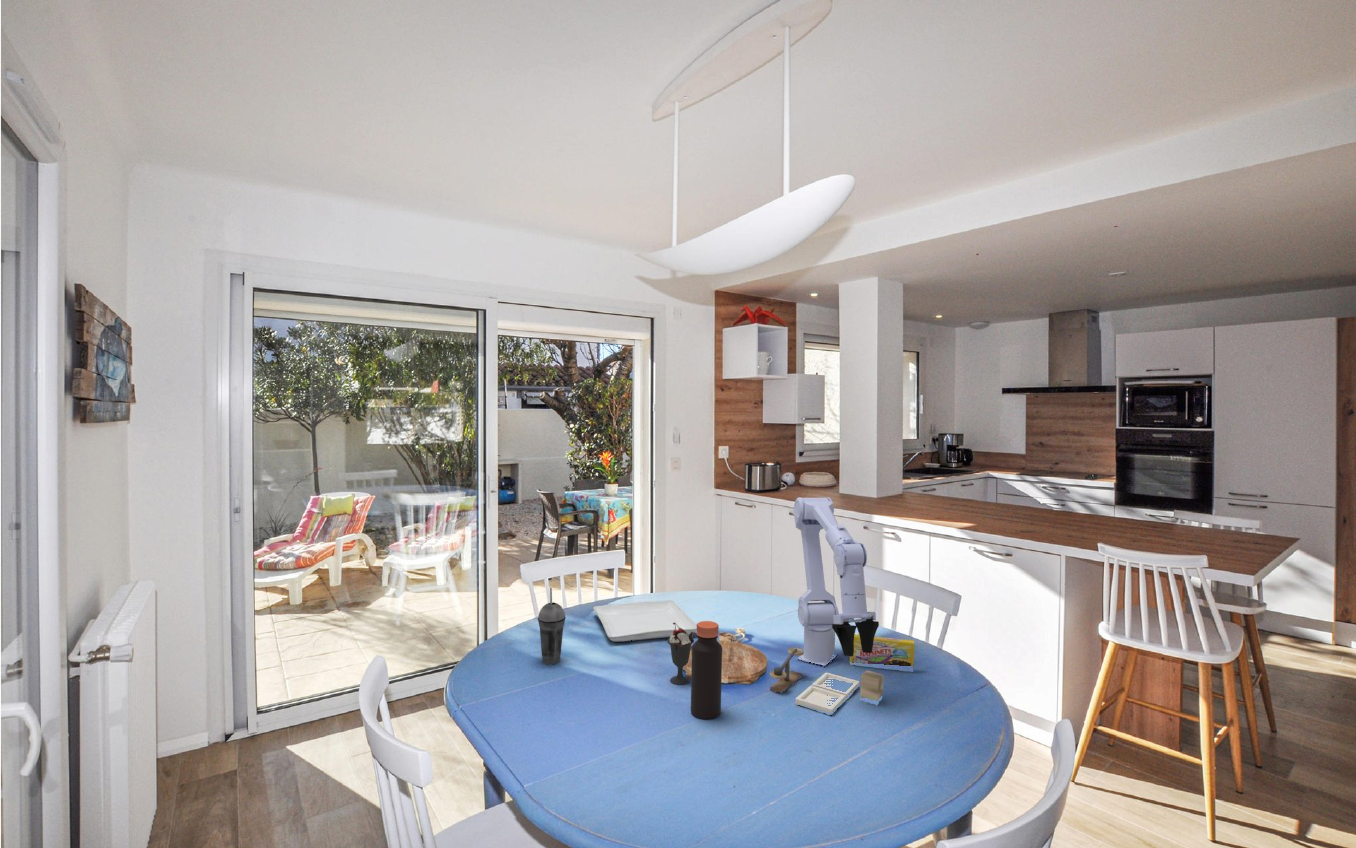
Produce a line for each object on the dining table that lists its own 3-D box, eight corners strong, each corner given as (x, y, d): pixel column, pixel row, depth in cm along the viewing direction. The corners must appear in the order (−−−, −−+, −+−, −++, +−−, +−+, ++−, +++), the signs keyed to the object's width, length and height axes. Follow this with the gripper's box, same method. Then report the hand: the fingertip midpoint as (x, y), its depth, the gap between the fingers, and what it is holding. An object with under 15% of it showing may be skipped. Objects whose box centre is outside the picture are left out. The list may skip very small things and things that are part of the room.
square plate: (592, 617, 208) (592, 605, 208) (673, 610, 216) (673, 599, 216) (608, 648, 182) (608, 634, 182) (699, 639, 191) (700, 626, 190)
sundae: (661, 683, 160) (662, 623, 159) (674, 673, 166) (675, 615, 165) (685, 689, 157) (686, 627, 156) (697, 678, 163) (698, 619, 162)
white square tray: (825, 678, 164) (825, 672, 164) (859, 687, 159) (859, 681, 159) (811, 690, 157) (811, 684, 157) (846, 700, 152) (846, 694, 152)
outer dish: (810, 691, 157) (810, 685, 157) (845, 701, 152) (845, 695, 152) (795, 705, 149) (795, 698, 149) (831, 716, 144) (831, 709, 144)
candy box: (849, 666, 172) (850, 636, 172) (849, 663, 174) (850, 633, 174) (913, 674, 168) (914, 642, 168) (912, 670, 171) (913, 639, 170)
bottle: (686, 708, 147) (687, 621, 146) (713, 703, 149) (715, 618, 149) (697, 722, 141) (699, 631, 140) (725, 717, 143) (727, 628, 142)
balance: (791, 671, 168) (792, 644, 168) (805, 675, 166) (806, 648, 165) (766, 691, 156) (767, 661, 156) (781, 695, 154) (782, 665, 154)
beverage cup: (568, 656, 175) (569, 583, 174) (560, 667, 168) (561, 591, 167) (542, 655, 176) (543, 582, 175) (533, 666, 168) (534, 590, 168)
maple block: (865, 695, 156) (866, 670, 155) (882, 699, 153) (883, 674, 153) (860, 701, 152) (860, 676, 152) (877, 706, 150) (877, 680, 150)
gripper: (849, 596, 147) (854, 659, 144) (884, 593, 156) (890, 652, 153) (824, 595, 152) (828, 656, 149) (859, 593, 162) (864, 650, 159)
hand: (858, 654), depth 152 cm, fingers open, 7 cm apart
